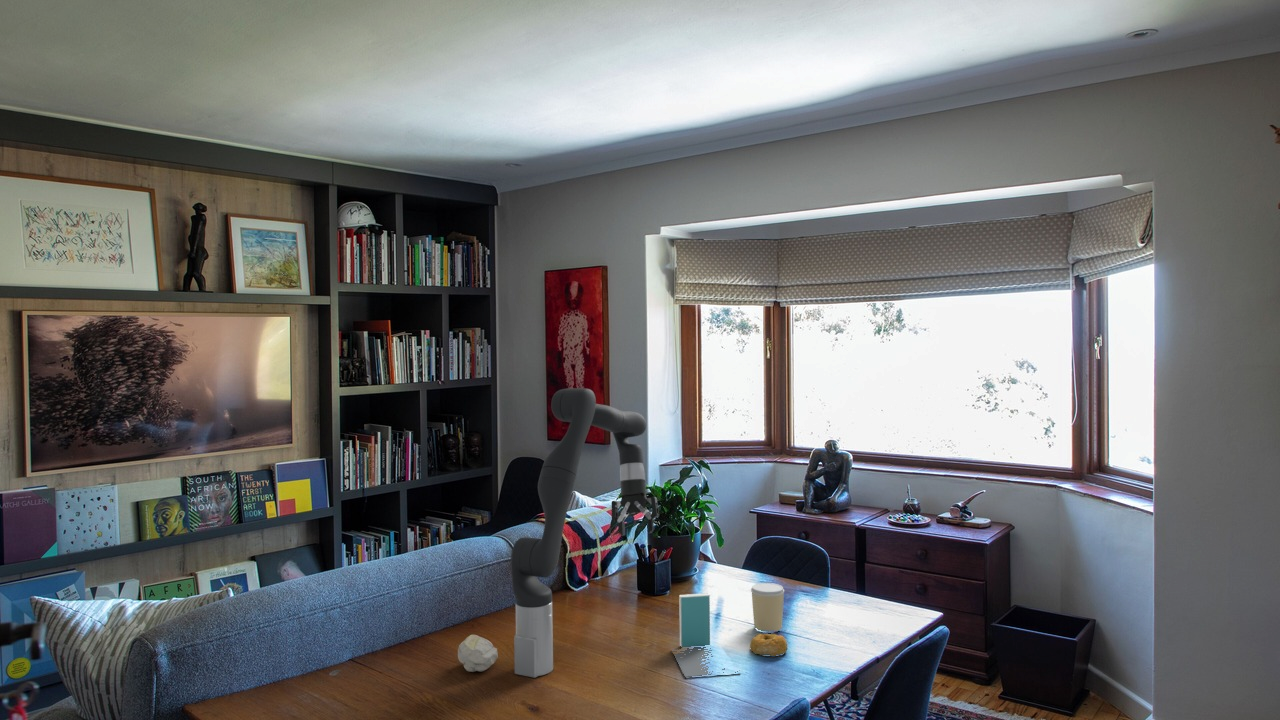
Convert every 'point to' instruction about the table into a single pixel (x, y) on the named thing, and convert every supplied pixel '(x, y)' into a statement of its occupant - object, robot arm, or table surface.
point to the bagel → (768, 644)
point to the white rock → (476, 653)
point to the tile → (694, 619)
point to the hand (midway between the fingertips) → (636, 534)
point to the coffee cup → (767, 606)
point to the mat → (693, 661)
